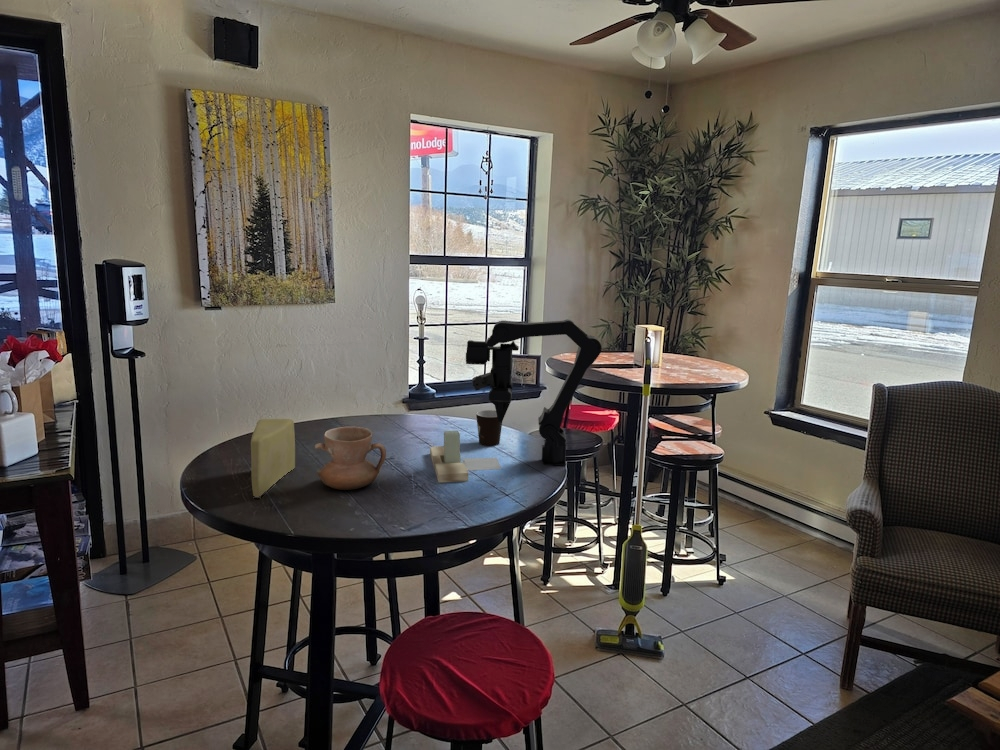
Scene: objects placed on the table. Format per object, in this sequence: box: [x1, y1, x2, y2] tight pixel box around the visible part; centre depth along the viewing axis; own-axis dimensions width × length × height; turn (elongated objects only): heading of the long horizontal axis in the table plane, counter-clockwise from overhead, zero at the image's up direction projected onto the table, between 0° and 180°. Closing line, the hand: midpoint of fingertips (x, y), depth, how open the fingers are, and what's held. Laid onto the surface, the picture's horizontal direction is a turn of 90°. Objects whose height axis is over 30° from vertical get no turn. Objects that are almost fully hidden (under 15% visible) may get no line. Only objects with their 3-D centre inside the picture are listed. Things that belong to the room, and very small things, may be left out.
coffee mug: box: [475, 409, 503, 447], centre depth 206 cm, size 12×9×10 cm
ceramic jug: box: [314, 425, 387, 491], centre depth 167 cm, size 18×14×14 cm
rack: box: [429, 445, 469, 483], centre depth 183 cm, size 8×24×2 cm, turn 11°
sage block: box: [443, 430, 461, 463], centre depth 182 cm, size 4×4×10 cm
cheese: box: [250, 418, 296, 497], centre depth 167 cm, size 22×10×15 cm, turn 5°
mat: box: [462, 457, 503, 472], centre depth 186 cm, size 10×10×1 cm
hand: (500, 417), depth 187 cm, fingers open, 9 cm apart
